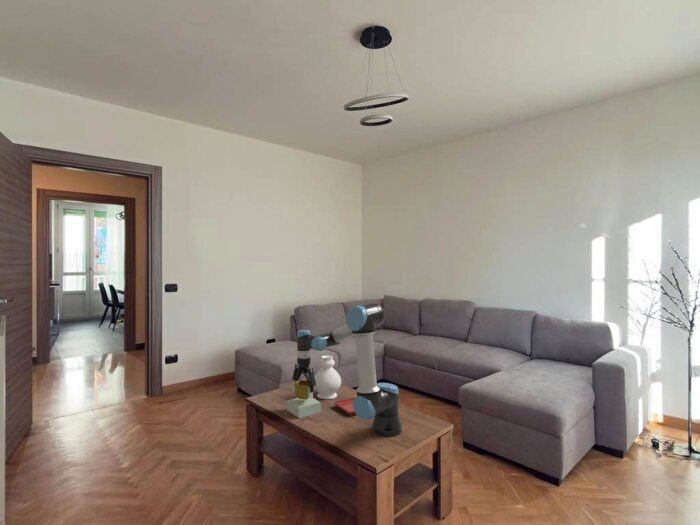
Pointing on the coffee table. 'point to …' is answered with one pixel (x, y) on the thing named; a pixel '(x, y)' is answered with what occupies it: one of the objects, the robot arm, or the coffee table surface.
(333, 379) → the decorative vase
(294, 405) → the sage block
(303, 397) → the flower pot
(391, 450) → the coffee table surface
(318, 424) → the coffee table surface
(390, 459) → the coffee table surface
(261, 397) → the coffee table surface
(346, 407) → the plant saucer
